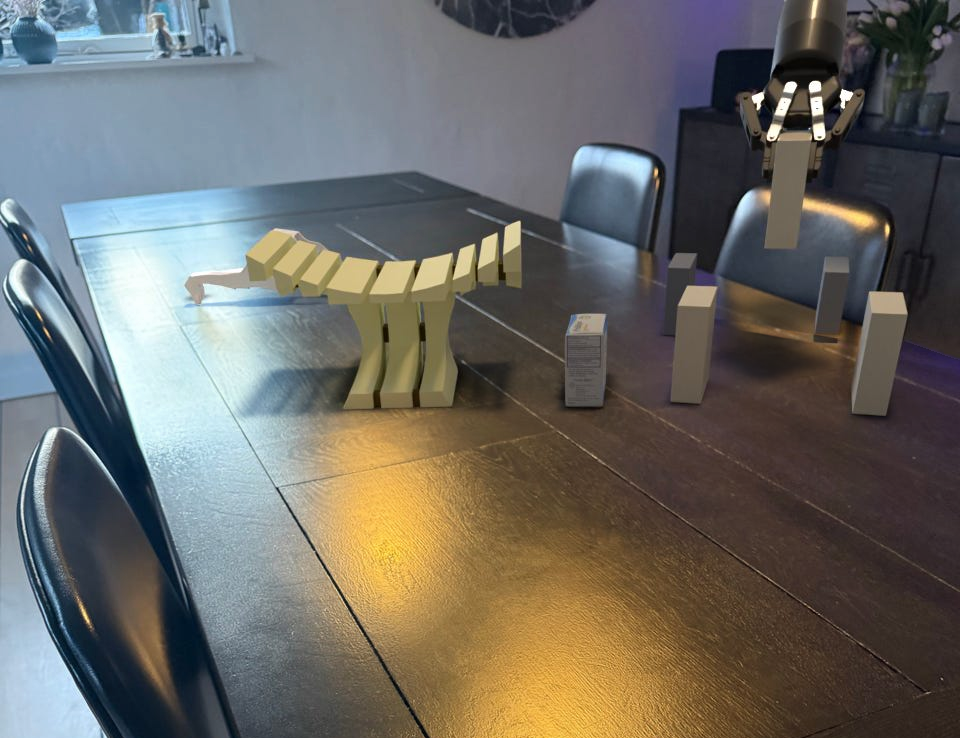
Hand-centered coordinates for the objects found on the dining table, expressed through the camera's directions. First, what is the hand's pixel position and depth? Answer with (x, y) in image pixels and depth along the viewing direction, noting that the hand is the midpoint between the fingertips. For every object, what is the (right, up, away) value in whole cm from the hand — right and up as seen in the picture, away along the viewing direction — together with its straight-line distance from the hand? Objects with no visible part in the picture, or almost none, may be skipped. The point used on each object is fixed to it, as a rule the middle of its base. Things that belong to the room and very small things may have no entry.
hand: (789, 178), depth 103 cm
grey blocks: (+3, -8, +26) cm, 28 cm away
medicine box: (-22, -22, +8) cm, 32 cm away
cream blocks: (0, -23, +5) cm, 23 cm away
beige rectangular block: (+1, -5, +6) cm, 7 cm away
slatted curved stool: (-44, -19, +14) cm, 50 cm away
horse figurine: (-69, +4, +50) cm, 85 cm away
